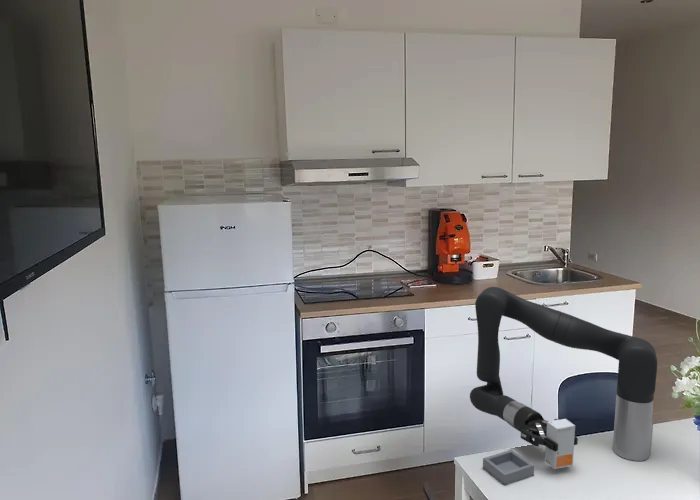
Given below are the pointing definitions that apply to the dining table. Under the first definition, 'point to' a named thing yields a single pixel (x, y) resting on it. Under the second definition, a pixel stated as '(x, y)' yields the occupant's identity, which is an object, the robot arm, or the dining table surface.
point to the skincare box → (560, 443)
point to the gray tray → (508, 467)
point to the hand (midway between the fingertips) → (566, 444)
